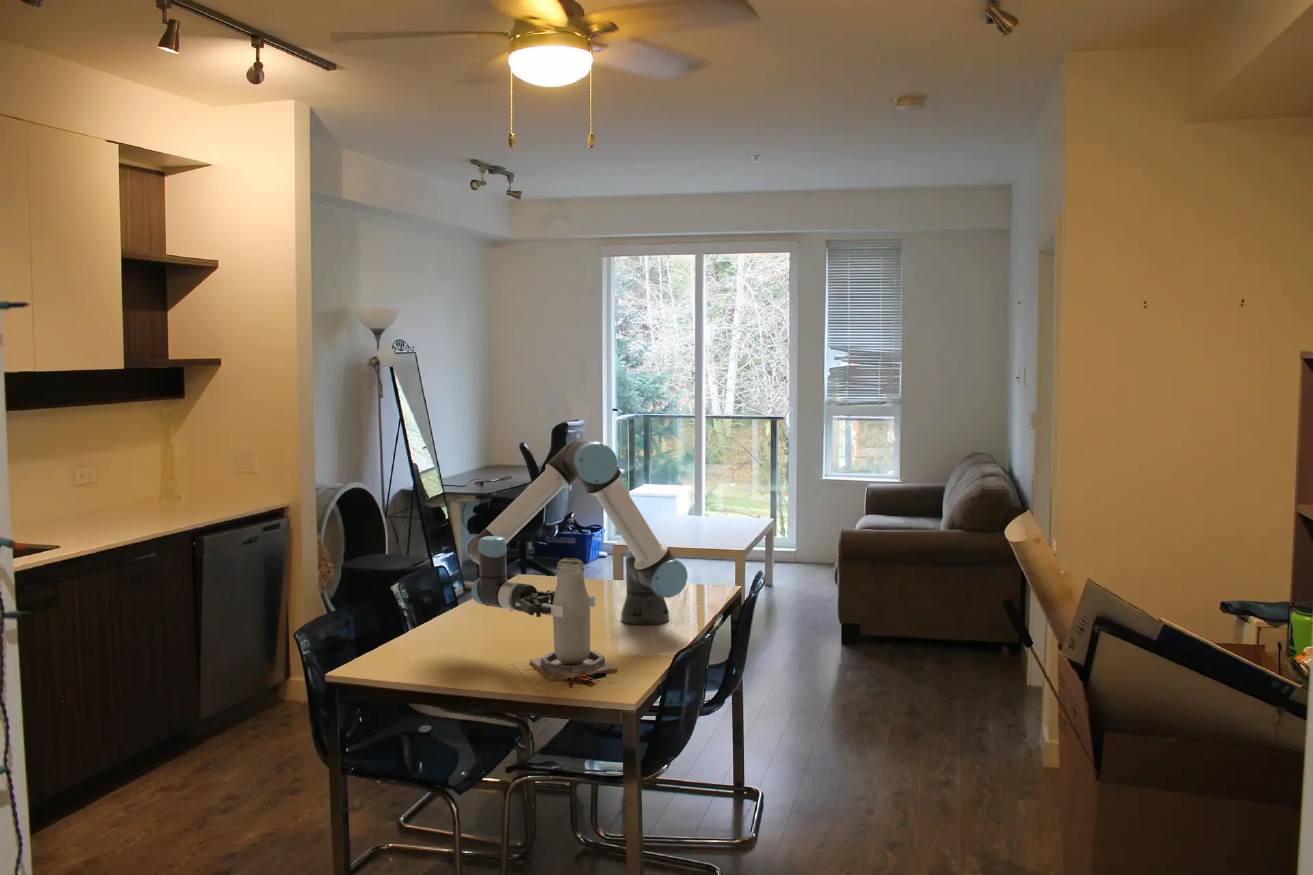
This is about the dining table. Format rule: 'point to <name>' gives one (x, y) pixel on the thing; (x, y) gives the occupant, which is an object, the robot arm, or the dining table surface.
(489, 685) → the dining table surface
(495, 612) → the dining table surface
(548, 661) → the socket board
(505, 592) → the robot arm
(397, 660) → the dining table surface
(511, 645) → the dining table surface
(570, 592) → the glass bottle
